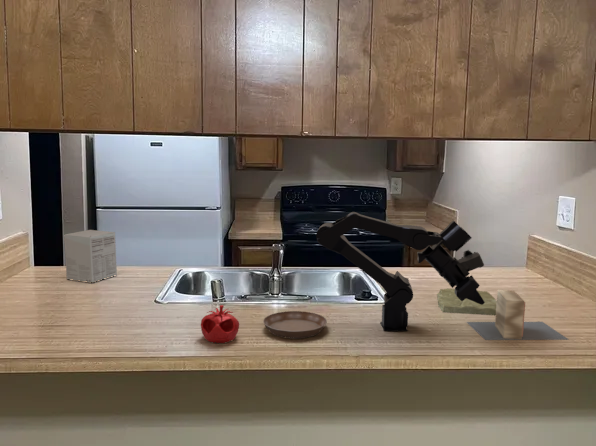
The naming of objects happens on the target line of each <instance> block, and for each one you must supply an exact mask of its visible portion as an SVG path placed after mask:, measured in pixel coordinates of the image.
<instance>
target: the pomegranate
mask: <svg viewBox="0 0 596 446" xmlns="http://www.w3.org/2000/svg"><path fill="white" fill-rule="evenodd" d="M223 309H224V304H223V305H219V308H218V307H217V308H215V311H216V312H215V311H213V310H210V311H208V312H206V314H207V313H208V314H207V315H205V316H203V317H202V318H201V321H200V328H201V333H202V335H203V337H204V339H205V341H207V342H209V343H211V342H213V343H212V344H218V343H219V344H225V342H227V343H229V342H232V341H234V340H235V338H236V337H237V335H238V332H239V329H240V322H239V320H238V319H237V318H236V317H235V316H233V315H232V314H234V313H233V311H230V310H228V308H225V309H224V310H223ZM215 342H216V343H215Z"/></svg>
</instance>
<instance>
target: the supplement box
mask: <svg viewBox="0 0 596 446" xmlns="http://www.w3.org/2000/svg"><path fill="white" fill-rule="evenodd" d="M63 239H64V241H63V242H64V257H65V272H66V274H65V275H66V280H67V279H73V280H80V281H87V282H95V281H98V280H101V279H104V278H107V277H111V276H114V275H117V276H118V269H117V250H116V249H117V248H116V246H117V244H116V232H115V231H106V230H96V229H95V230H94V229H87V230H81V231H76V232H71V233H66V234H64V235H63ZM95 283H96V282H95Z"/></svg>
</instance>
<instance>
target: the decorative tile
mask: <svg viewBox="0 0 596 446" xmlns="http://www.w3.org/2000/svg"><path fill="white" fill-rule="evenodd" d="M477 291H478V293H479V294H480V296H481V297H482V299H483V300H484V302H485V303H484V304H483V305H481V304H479V303H476V302H474V301H471V300H469V299H464V300H463V301H461V300H460V299H459V298H458V297H457V296H456V294H455V288H444V289H443V288H440V289H439V292H437V294H436V296H437V307H438V308H439V309H440V311H441V312H442V313H447V314H449V313H450V314H461V315H462V314H463V315H464V314H466V315H483V316H496V303H497V299H495V297H494V296H493V295H492V294H491V293H490V292H488V291H486V290H484V291H483V290H477Z"/></svg>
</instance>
